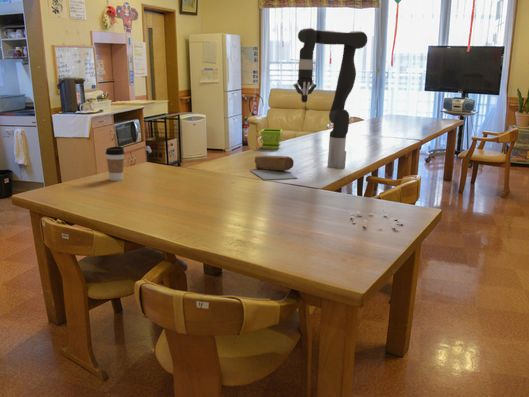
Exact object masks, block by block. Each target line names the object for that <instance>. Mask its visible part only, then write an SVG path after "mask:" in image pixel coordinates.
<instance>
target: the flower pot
mask: <svg viewBox="0 0 529 397" xmlns="http://www.w3.org/2000/svg"><path fill="white" fill-rule="evenodd" d="M260 135H261V136H260V137H261V142H262V144H261V148H262V149H265V150H266V149H267V150H278V149H279V148H280V147H281V140H282V136H283V129H282V128H281V129H280V128H262V129H261V131H260Z"/></svg>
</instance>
